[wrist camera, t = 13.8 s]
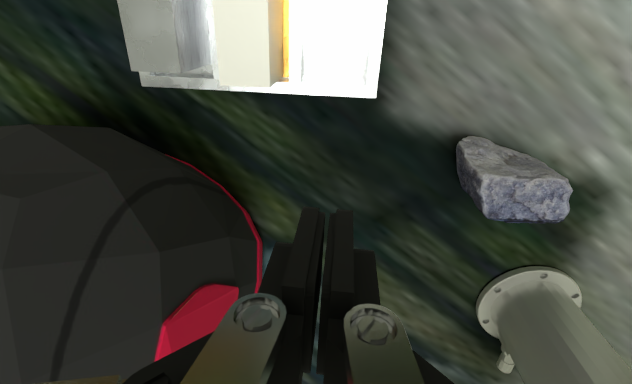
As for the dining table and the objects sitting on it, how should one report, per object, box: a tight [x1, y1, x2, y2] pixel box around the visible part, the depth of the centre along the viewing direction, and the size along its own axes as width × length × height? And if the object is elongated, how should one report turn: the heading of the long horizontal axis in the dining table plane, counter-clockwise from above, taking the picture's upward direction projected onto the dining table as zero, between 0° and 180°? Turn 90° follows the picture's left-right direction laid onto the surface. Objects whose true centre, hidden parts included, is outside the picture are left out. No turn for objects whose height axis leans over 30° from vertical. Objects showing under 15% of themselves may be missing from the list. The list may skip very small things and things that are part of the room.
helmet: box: [0, 124, 262, 384], centre depth 29 cm, size 26×32×30 cm
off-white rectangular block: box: [212, 0, 283, 88], centre depth 27 cm, size 4×10×7 cm, turn 178°
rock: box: [456, 136, 573, 224], centre depth 31 cm, size 10×6×10 cm, turn 88°
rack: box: [117, 0, 387, 98], centre depth 27 cm, size 22×14×8 cm, turn 88°
